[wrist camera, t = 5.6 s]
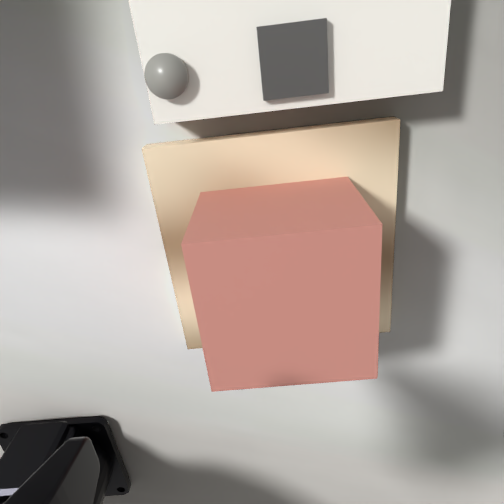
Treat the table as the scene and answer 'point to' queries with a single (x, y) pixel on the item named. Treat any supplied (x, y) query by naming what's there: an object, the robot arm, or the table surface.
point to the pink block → (285, 283)
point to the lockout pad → (274, 172)
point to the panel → (285, 53)
